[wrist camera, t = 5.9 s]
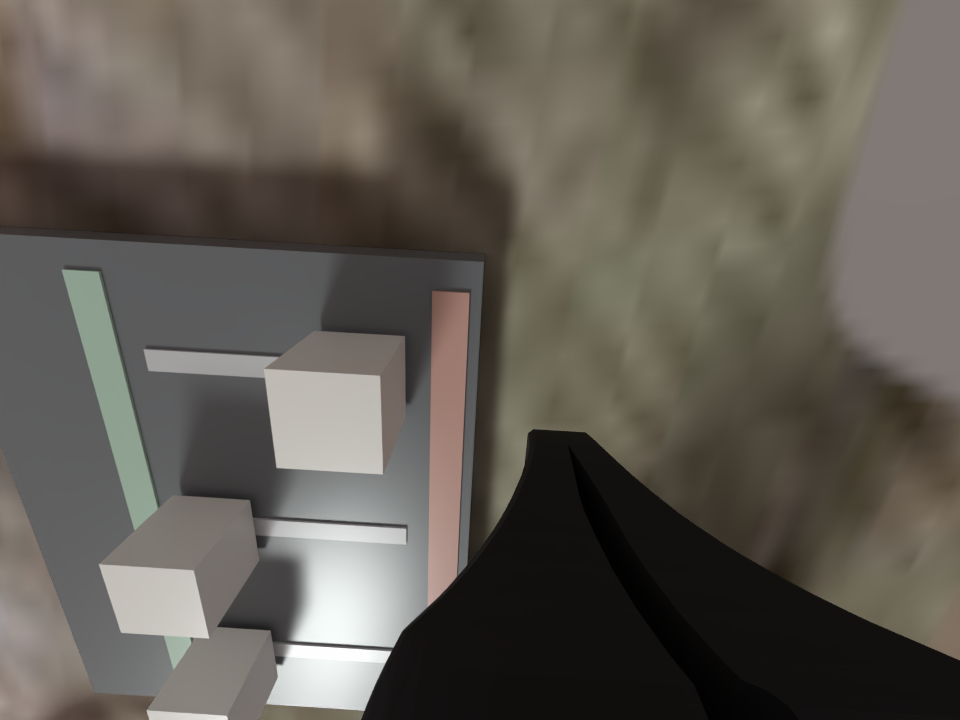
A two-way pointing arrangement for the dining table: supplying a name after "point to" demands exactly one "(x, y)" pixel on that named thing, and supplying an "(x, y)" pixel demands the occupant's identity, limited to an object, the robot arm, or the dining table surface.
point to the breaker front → (337, 402)
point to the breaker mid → (182, 567)
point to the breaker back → (220, 678)
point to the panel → (236, 436)
